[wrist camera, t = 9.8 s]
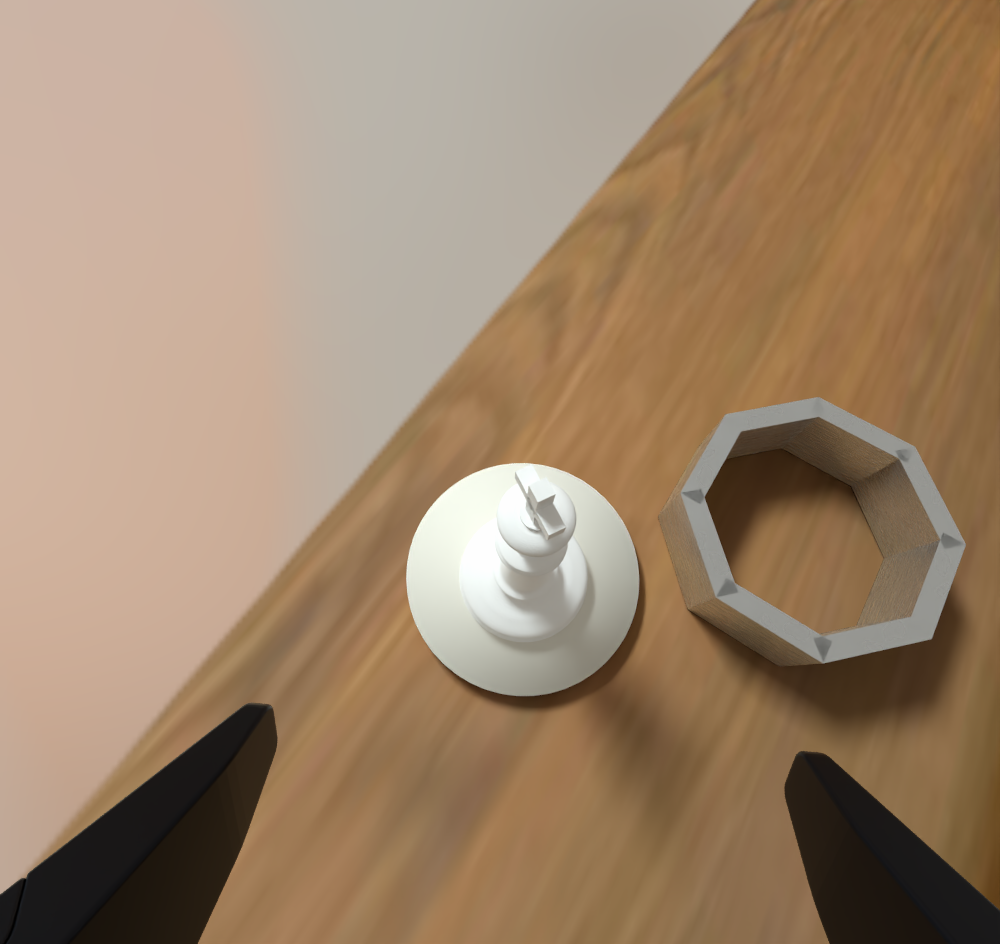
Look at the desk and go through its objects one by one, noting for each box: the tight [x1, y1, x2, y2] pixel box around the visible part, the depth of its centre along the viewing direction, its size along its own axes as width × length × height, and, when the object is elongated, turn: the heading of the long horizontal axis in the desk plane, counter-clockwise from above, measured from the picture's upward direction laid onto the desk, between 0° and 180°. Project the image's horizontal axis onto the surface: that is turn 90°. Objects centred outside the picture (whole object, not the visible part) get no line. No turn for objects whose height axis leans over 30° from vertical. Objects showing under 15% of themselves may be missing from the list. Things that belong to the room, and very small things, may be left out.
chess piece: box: [459, 464, 588, 642], centre depth 17 cm, size 5×5×10 cm
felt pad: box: [406, 463, 639, 696], centre depth 22 cm, size 9×9×1 cm
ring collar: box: [658, 397, 966, 666], centre depth 21 cm, size 9×9×3 cm
